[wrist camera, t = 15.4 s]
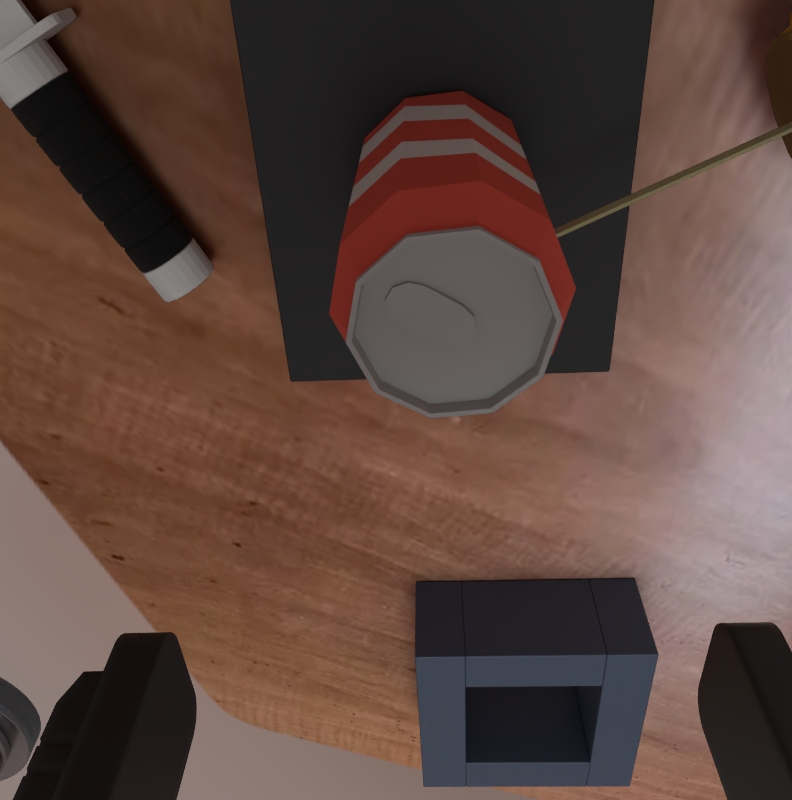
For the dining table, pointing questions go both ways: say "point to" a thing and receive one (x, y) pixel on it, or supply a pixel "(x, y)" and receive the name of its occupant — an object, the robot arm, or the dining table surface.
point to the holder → (531, 681)
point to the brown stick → (788, 92)
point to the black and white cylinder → (93, 153)
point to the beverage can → (449, 261)
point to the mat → (426, 75)
